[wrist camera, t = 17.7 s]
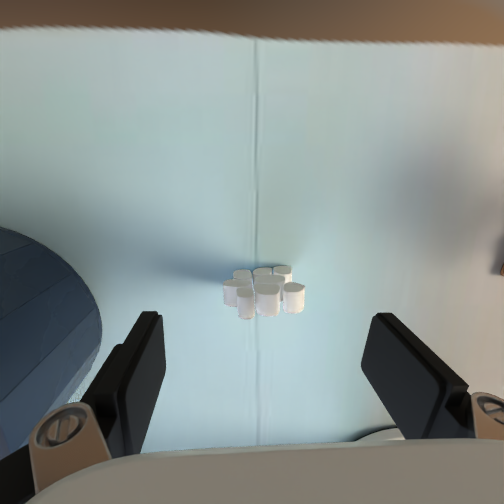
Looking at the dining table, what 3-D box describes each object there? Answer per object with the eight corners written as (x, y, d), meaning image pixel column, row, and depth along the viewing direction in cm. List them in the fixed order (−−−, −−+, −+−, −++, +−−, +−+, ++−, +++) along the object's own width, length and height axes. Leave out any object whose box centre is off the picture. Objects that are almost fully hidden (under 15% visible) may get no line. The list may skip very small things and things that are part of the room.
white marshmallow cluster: (292, 265, 18) (309, 293, 14) (292, 282, 19) (308, 315, 15) (224, 269, 18) (221, 299, 14) (225, 286, 19) (222, 321, 15)
